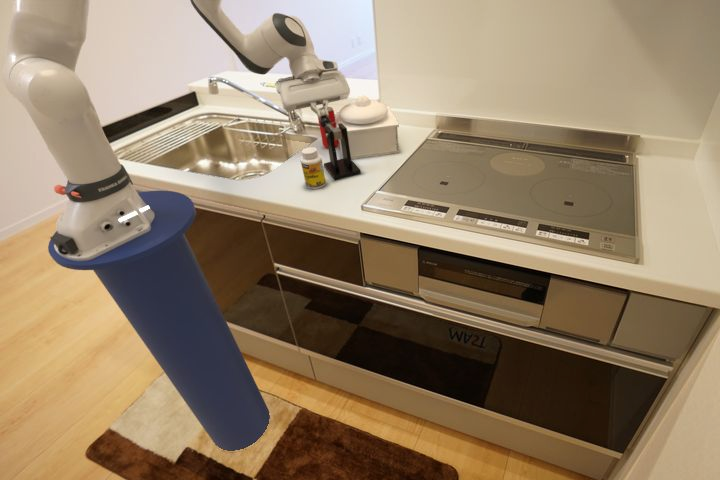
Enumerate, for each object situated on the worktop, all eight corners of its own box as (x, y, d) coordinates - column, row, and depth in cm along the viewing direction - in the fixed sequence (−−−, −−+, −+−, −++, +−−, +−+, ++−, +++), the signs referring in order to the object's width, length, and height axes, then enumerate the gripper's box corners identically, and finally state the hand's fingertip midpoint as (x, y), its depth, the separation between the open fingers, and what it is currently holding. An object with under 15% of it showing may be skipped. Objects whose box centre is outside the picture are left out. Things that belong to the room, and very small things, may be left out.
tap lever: (319, 127, 122) (317, 116, 120) (330, 125, 123) (328, 114, 121) (333, 142, 113) (331, 131, 111) (344, 139, 114) (342, 128, 112)
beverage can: (333, 141, 137) (327, 105, 130) (342, 146, 134) (336, 109, 126) (320, 146, 135) (313, 109, 127) (328, 151, 132) (322, 113, 124)
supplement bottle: (303, 189, 113) (295, 154, 107) (310, 179, 117) (303, 145, 111) (322, 190, 112) (315, 155, 106) (329, 180, 116) (322, 146, 110)
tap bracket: (324, 167, 123) (316, 124, 115) (349, 160, 125) (343, 118, 117) (334, 180, 116) (326, 136, 108) (361, 173, 118) (355, 130, 110)
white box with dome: (338, 138, 139) (330, 89, 129) (390, 131, 141) (387, 82, 131) (342, 160, 126) (334, 107, 116) (400, 152, 128) (397, 100, 118)
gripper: (272, 73, 115) (289, 119, 115) (341, 61, 121) (357, 104, 121) (273, 86, 121) (289, 129, 121) (338, 73, 127) (354, 115, 127)
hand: (323, 117), depth 121 cm, fingers closed, pressing on tap lever
